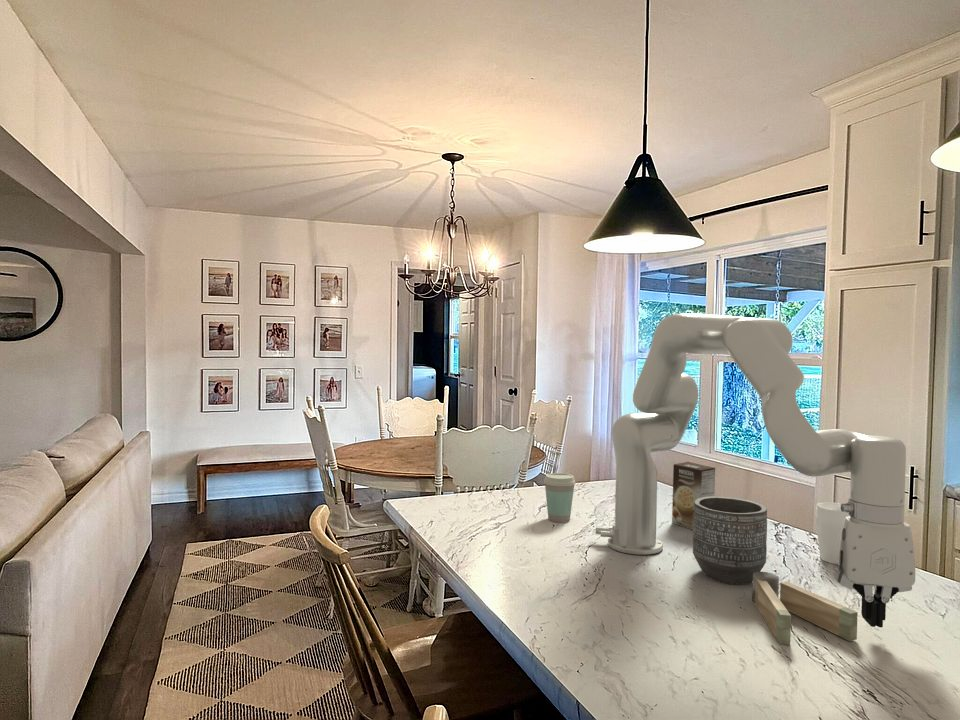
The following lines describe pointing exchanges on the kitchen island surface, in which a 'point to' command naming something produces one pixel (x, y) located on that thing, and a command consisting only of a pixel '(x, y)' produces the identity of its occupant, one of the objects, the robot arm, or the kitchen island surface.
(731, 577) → the planter
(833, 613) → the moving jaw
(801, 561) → the kitchen island surface
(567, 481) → the coffee cup
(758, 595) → the tongs base
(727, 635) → the kitchen island surface
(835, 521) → the cup
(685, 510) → the coffee box
